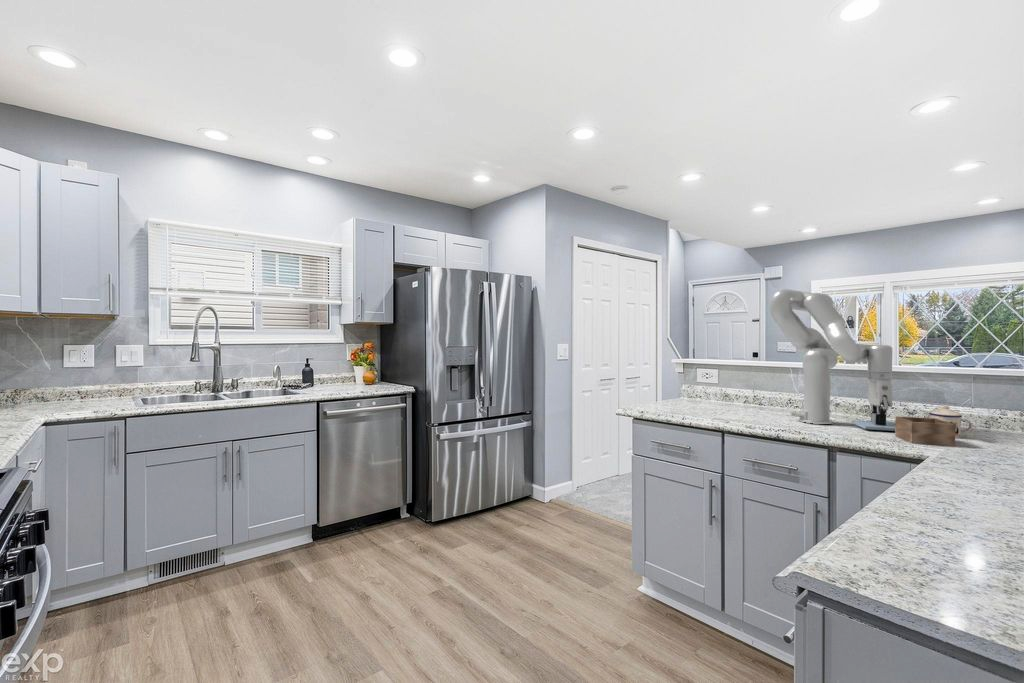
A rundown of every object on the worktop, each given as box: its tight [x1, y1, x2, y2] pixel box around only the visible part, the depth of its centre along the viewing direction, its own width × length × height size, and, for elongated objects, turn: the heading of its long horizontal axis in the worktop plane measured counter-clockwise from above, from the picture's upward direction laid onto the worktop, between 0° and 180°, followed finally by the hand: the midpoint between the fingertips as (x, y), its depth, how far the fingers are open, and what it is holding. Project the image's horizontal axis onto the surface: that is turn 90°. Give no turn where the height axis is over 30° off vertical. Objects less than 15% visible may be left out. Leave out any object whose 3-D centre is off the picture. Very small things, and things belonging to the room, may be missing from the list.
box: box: [894, 415, 956, 447], centre depth 167 cm, size 12×12×8 cm
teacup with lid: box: [928, 405, 974, 439], centre depth 176 cm, size 12×9×12 cm
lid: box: [851, 413, 895, 432], centre depth 188 cm, size 14×14×5 cm
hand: (878, 423), depth 188 cm, fingers closed on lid, 3 cm apart
